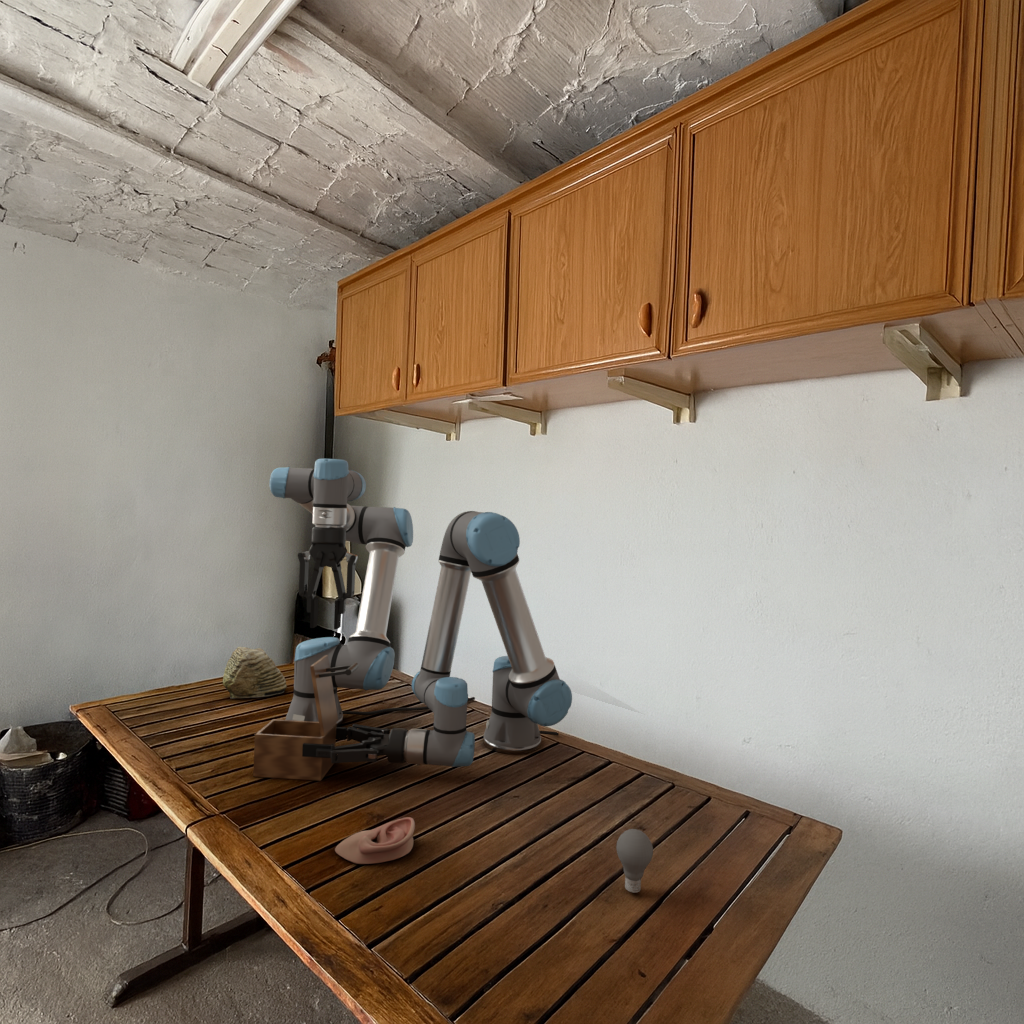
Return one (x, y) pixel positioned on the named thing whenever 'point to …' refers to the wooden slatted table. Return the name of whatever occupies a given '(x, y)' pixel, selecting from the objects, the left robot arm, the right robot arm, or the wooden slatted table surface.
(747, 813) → the wooden slatted table surface
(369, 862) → the anatomical model
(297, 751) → the chest
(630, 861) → the light bulb
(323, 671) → the lid
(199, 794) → the wooden slatted table surface
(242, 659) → the fossil
